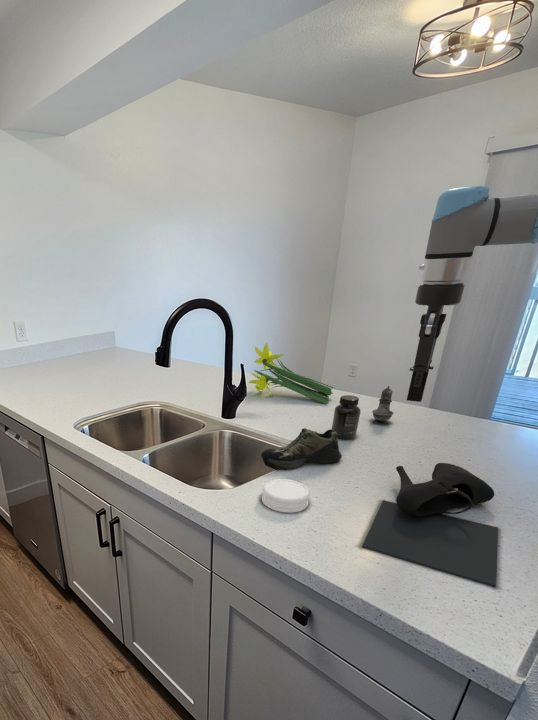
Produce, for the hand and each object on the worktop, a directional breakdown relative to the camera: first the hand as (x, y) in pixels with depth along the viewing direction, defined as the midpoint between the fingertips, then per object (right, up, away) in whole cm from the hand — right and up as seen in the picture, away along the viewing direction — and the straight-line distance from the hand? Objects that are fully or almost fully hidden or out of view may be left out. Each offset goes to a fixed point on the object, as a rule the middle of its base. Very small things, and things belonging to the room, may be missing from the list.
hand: (414, 400), depth 95 cm
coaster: (-27, -23, +4) cm, 36 cm away
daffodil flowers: (-1, +14, +73) cm, 74 cm away
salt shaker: (+17, 0, +43) cm, 46 cm away
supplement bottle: (+1, -5, +35) cm, 35 cm away
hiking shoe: (-17, -13, +21) cm, 30 cm away
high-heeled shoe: (+8, -16, +5) cm, 18 cm away
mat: (-4, -29, -11) cm, 31 cm away
